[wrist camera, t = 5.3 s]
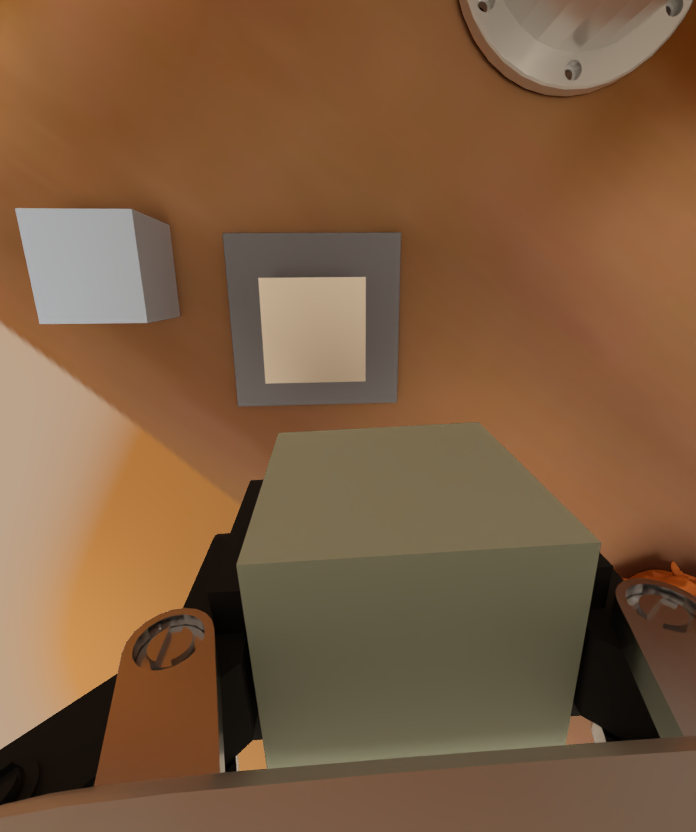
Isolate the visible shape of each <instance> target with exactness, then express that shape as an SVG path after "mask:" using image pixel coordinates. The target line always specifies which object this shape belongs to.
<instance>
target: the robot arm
mask: <svg viewBox="0 0 696 832" xmlns="http://www.w3.org/2000/svg"><path fill="white" fill-rule="evenodd" d="M459 2H460V6H461V10H462V14H463V17H464V19H465V21H466V23H467V25H468V28H469V30H470V32H471V34H472V37H473V39H474V41H475V42H476V44H477V45H478V46H479V48H480V49H481V51H482V52H483V54H484V55H485V56H486V58H487V59H488V61H489V62H490V63H491V64H492V65H494V66H495V67H496V68H497V69H498V70H499V71H500V72H501V73H502V74H503V75H504V76H505V77H507V78H508V79H510V80H512V81H513V82H515V83H517V84H518V85H520V86H522V87H523V88H525V89H528V90H531V91H534V92H538V93H541V94H544V95H553V96H574V95H580V94H586V93H590V92H593V91H596V90H598V89H601V88H603V87H606V86H609V85H611V84H613V83H614V82H616V81H617V80H619V79H620V78H622V77H624V76H625V75H627V74H628V73H630V72H632V71H633V70H634V69H635V68H637V67H638V66H639V65H641V64H642V63H643V62H645V61H646V60H647V59H649V58H650V57H651V56H652V55H653V54H654V53H655V52H656V51H657V50H658V49H659V48H660V47H661V46H662V45H663V44H664V43H665V42H666V41H667V40H668V38H669V37H670V36H671V35H672V34H673V33H674V31H675V30H676V28H677V27H678V26H679V24H680V23H681V21H682V20H683V19H684V17H685V15H686V14H687V12H688V10H689V8H690V6H691V4H692V2H693V0H459ZM479 7H480V8H482V9H483V10H484V12H483V11H481V10H480V9H479ZM565 74H566V76H567V77H566V76H565ZM262 483H263V480H251V481H250V483H249V486H248V488H247V491H246V494H245V496H244V499H243V501H242V504H241V507H240V509H239V512H238V515H237V517H236V520H235V522H234V525H233V528H232V530H231V533H228V534H217V535H215V537H214V539H213V541H212V543H211V545H210V548H209V550H208V552H207V555H206V557H205V559H204V561H203V564H202V566H201V568H200V571H199V573H198V575H197V577H196V580H195V582H194V584H193V586H192V589H191V591H190V593H189V596H188V598H187V600H186V602H185V605H184V607H183V608H182V609H175V610H171V611H168V612H165V613H162V614H160V615H158V616H156V617H154V618H152V619H150V620H149V621H147V622H145V623H144V624H143V625H142V626H141V627H140V628H139V629H137V630H136V631H135V632H134V633H133V635H132V636H131V637H130V638H129V640H128V641H127V642H126V645H125V647H124V650H123V652H122V656H121V660H120V665H119V670H118V674H116V675H115V676H113V677H112V678H110V679H109V680H107V681H106V682H104V683H102V684H101V685H99V686H98V687H96V688H95V689H93V690H92V691H90V692H89V693H87V694H85V695H84V696H82V697H81V698H79V699H78V700H76V701H75V702H73V703H72V704H70V705H68V706H67V707H65V708H64V709H62V710H61V711H59V712H58V713H56V714H55V715H53V716H52V717H50V718H49V719H47V720H46V721H44V722H42V723H41V724H39V725H38V726H36V727H35V728H33V729H32V730H30V731H28V732H27V733H25V734H24V735H22V736H21V737H20V738H18V739H16V740H15V741H13V742H12V743H10V744H9V745H7V746H5V747H4V748H2V749H1V750H0V832H696V597H695V596H693V595H692V594H691V593H689V592H687V591H685V590H683V589H681V588H679V587H677V586H674V585H671V584H668V583H665V582H662V581H658V580H653V579H647V578H632V579H628V580H623V579H622V578H621V577H620V576H619V575H618V574H617V572H616V571H615V570H614V569H613V566H612V565H611V564H610V563H609V562H608V561H607V560H606V559H605V558H604V557H603V555H602V554H601V553H600V552H599V558H598V564H597V569H596V575H595V581H594V586H593V592H592V598H591V603H590V609H589V614H588V620H587V626H586V631H585V637H584V643H583V648H582V654H581V660H580V665H579V671H578V677H577V682H576V688H575V694H574V699H573V705H572V711H571V716H579V715H581V716H583V717H585V718H586V719H588V720H590V723H591V731H592V734H593V738H594V741H595V743H586V744H573V745H560V746H547V747H533V748H520V749H507V750H494V751H481V752H468V753H455V754H443V755H430V756H417V757H404V758H392V759H379V760H367V761H355V762H343V763H331V764H319V765H307V766H296V767H284V768H272V769H261V770H248V771H239V764H238V754H239V753H240V752H241V751H242V750H243V749H244V748H245V747H246V746H247V745H248V744H249V743H250V742H251V741H252V740H261V739H263V738H262V731H261V725H260V718H259V712H258V705H257V698H256V692H255V685H254V679H253V672H252V665H251V659H250V652H249V646H248V639H247V632H246V626H245V619H244V613H243V606H242V599H241V593H240V586H239V580H238V573H237V566H236V564H237V561H238V558H239V555H240V552H241V549H242V546H243V543H244V539H245V536H246V533H247V530H248V527H249V524H250V521H251V518H252V514H253V511H254V508H255V505H256V502H257V499H258V496H259V493H260V489H261V486H262Z"/></svg>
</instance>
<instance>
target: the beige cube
mask: <svg viewBox="0 0 696 832" xmlns="http://www.w3.org/2000/svg"><path fill="white" fill-rule="evenodd" d="M258 283H259V297H260V312H261V326H262V341H263V356H264V370H265V384H271V383H317V382H362V381H366V277H297V278H258Z"/></svg>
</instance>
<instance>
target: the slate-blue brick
mask: <svg viewBox="0 0 696 832" xmlns="http://www.w3.org/2000/svg"><path fill="white" fill-rule="evenodd" d="M15 210H16V215H17V220H18V224H19V229H20V234H21V239H22V243H23V248H24V253H25V257H26V262H27V267H28V271H29V276H30V281H31V285H32V290H33V295H34V300H35V304H36V309H37V314H38V318H39V323H40V324H93V323H150V322H155V321H160V320H165V319H171V318H176V317H180V309H179V301H178V293H177V284H176V276H175V267H174V259H173V250H172V242H171V233H170V225H169V224H166V223H164V222H161V221H159V220H157V219H154V218H152V217H150V216H147V215H145V214H143V213H140V212H138V211H135V210H133V209H57V208H15Z"/></svg>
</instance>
